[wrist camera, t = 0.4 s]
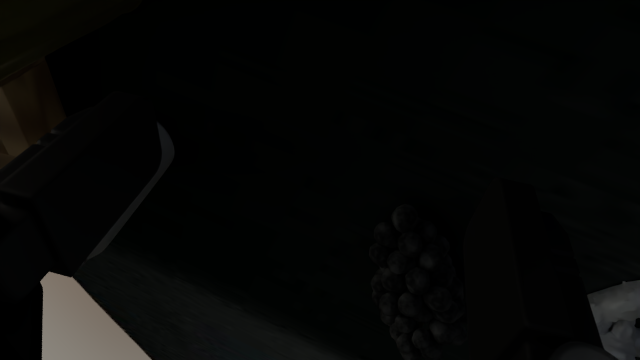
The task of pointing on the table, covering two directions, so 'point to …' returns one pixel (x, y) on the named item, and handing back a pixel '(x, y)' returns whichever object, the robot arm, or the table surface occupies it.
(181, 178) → the table surface
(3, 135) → the holder
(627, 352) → the sitting furry creature
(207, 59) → the table surface
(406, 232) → the fruit
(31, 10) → the vase
